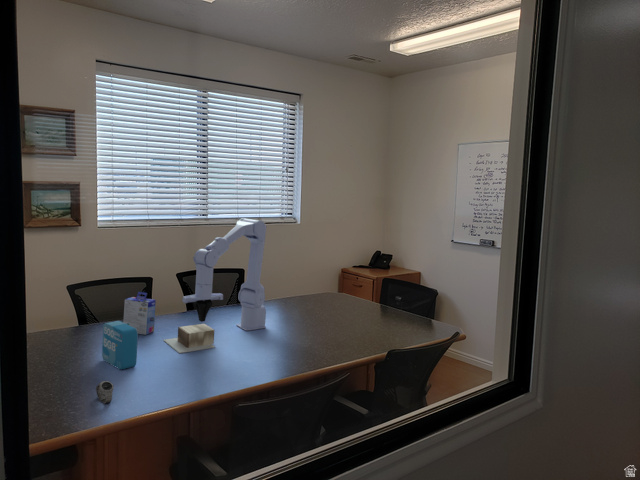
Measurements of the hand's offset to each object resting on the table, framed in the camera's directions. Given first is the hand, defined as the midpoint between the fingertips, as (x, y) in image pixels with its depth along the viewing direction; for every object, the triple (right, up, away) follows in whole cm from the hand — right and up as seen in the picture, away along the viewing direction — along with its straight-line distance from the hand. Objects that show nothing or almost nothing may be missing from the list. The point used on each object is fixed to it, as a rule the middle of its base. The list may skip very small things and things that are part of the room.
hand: (201, 320), depth 166 cm
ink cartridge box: (-25, -5, +7) cm, 26 cm away
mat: (-4, -8, -2) cm, 9 cm away
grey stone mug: (-13, -12, -47) cm, 50 cm away
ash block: (+2, -5, +3) cm, 6 cm away
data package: (-19, -9, -24) cm, 32 cm away
